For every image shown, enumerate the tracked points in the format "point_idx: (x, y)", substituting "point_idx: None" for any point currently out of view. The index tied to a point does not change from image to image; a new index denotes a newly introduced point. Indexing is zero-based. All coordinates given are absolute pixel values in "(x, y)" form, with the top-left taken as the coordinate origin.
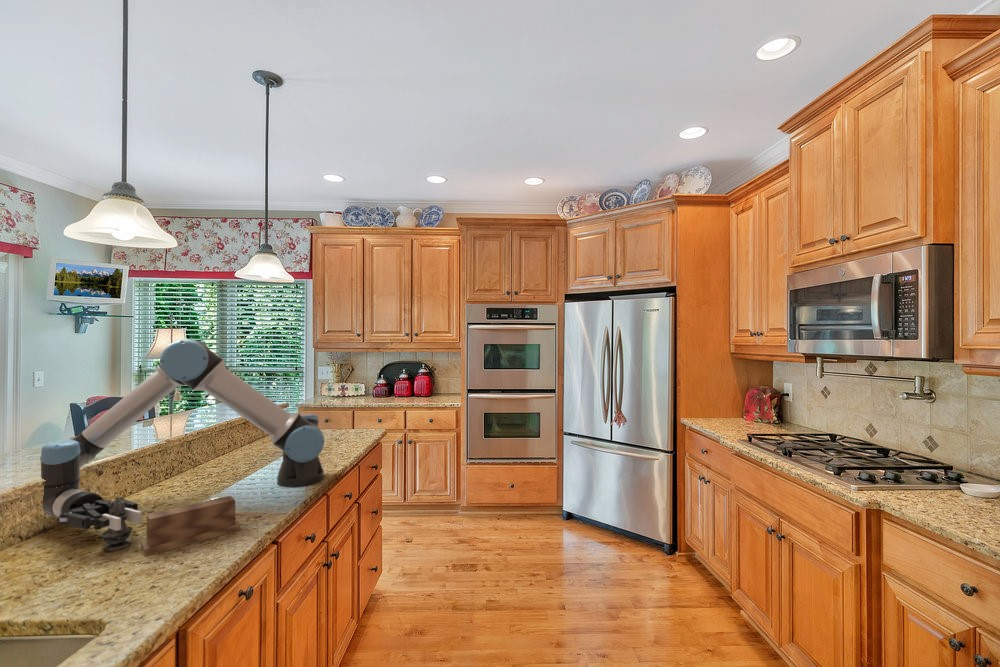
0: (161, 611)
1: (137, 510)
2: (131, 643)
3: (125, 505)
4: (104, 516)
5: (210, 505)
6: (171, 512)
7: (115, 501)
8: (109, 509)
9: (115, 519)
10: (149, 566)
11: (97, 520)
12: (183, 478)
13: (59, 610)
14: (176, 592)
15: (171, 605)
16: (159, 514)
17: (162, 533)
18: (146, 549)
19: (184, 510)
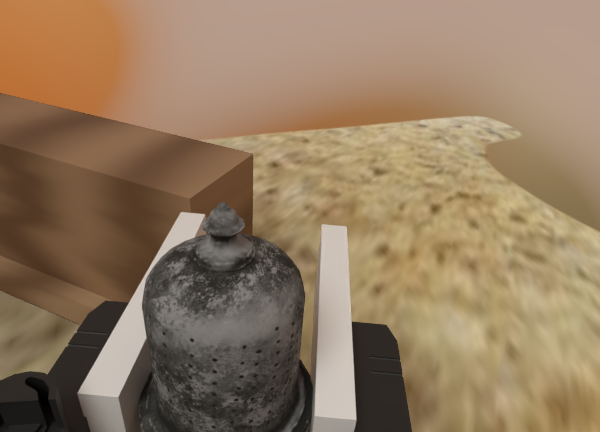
0: (411, 131)
1: (161, 246)
2: (469, 120)
3: (58, 402)
4: (352, 382)
5: (38, 102)
6: (143, 143)
7: (252, 246)
8: (294, 354)
9: (347, 243)
10: None
11: (408, 424)
12: None
13: (561, 229)
14: (365, 142)
15: (393, 130)
16: (180, 160)
17: None
18: None
19: (111, 126)
